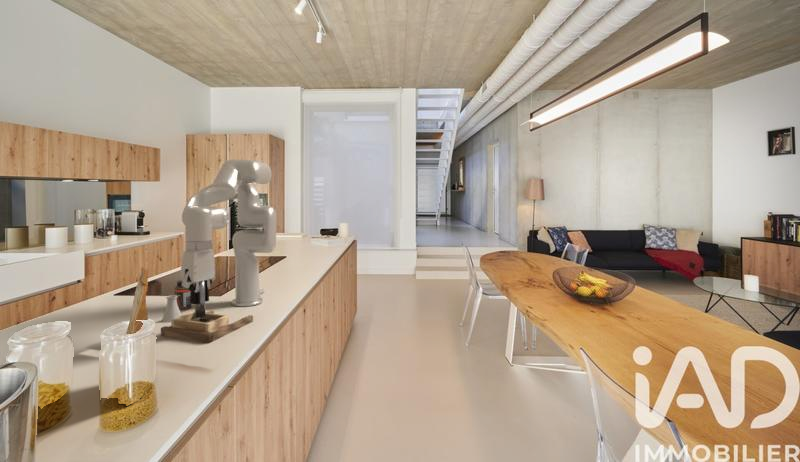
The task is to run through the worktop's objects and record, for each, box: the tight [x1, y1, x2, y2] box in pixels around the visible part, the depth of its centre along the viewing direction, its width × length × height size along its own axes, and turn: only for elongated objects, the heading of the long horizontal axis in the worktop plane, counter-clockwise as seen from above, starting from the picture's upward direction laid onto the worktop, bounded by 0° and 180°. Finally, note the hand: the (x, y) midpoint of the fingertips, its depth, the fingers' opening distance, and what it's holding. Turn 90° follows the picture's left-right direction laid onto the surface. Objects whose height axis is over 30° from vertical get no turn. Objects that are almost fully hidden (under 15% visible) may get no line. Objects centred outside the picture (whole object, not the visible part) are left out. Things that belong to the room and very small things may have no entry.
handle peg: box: [193, 281, 206, 317], centre depth 119 cm, size 3×3×13 cm
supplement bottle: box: [174, 279, 193, 311], centre depth 150 cm, size 6×6×11 cm
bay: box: [160, 310, 254, 344], centre depth 124 cm, size 21×18×4 cm
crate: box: [170, 310, 230, 332], centre depth 120 cm, size 9×14×5 cm, turn 76°
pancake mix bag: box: [125, 266, 149, 335], centre depth 86 cm, size 7×19×28 cm, turn 27°
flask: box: [161, 294, 183, 323], centre depth 132 cm, size 7×7×10 cm
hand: (199, 301), depth 119 cm, fingers closed on handle peg, 3 cm apart
